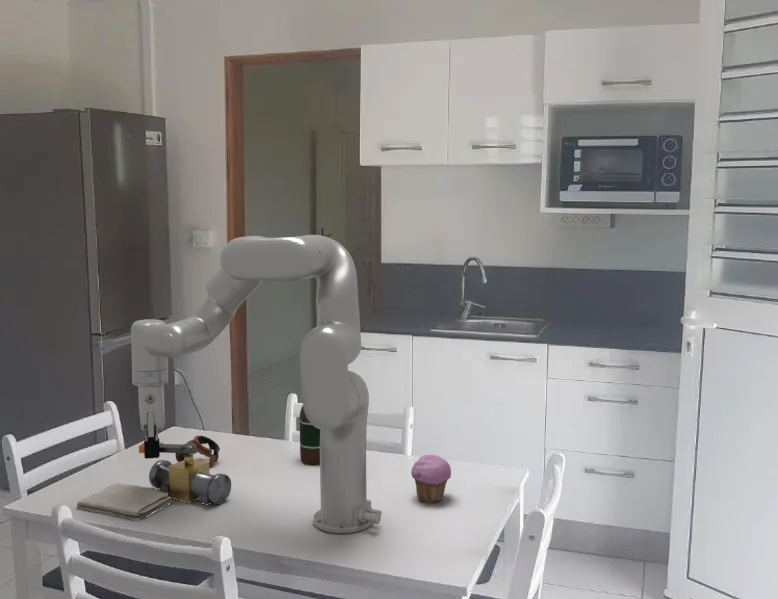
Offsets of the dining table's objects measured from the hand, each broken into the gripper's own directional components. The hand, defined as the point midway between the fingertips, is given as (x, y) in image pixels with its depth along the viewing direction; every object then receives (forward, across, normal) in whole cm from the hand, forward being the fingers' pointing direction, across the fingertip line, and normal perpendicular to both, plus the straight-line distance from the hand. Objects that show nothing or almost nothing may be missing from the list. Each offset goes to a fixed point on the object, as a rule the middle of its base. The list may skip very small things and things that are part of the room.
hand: (152, 456), depth 170 cm
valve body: (+10, 0, -8) cm, 13 cm away
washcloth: (+11, -1, +6) cm, 12 cm away
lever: (0, +2, -4) cm, 4 cm away
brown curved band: (+10, +21, -10) cm, 26 cm away
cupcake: (+9, -17, -60) cm, 63 cm away
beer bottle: (+10, +16, -40) cm, 44 cm away
